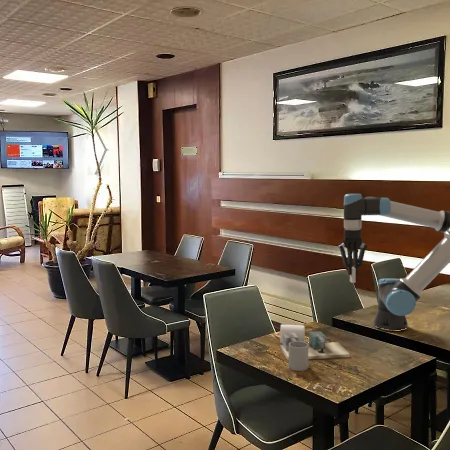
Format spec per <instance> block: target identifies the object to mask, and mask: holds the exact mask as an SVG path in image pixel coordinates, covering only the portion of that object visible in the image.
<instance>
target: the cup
mask: <svg viewBox="0 0 450 450" xmlns="http://www.w3.org/2000/svg"><path fill="white" fill-rule="evenodd" d="M308 344H309V343H308V342H306V341H305V342H302V341H293V342H290V343H289V360H288V368H289V369H290V370H292V371H294V372H304V371H307V370H308V369H309V359H308Z"/></svg>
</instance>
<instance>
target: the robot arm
mask: <svg viewBox="0 0 450 450" xmlns="http://www.w3.org/2000/svg"><path fill="white" fill-rule="evenodd" d="M362 216H381V217H384V218H385V217H386V218H391V219H395V220H399V221H403V222H406V223H412V224H415V225H419V226H424V227H428V228H433V229H435V231H436V232H440V233H443V236H444V237H443V238H442V239H441V240H440V241H439V242H438V243H437V244H436V245H435V247H433V248H432V250H431V251H430V252H429V253H428V254H427V255H426V256H425V257H424V258H423V259H422V260H421V261H420V262H419V263H418V264H417V265H416V266H415V267H414V268H413V270H412V271H410V273H408V275H406V277H404V278H403V277H401V278H390V277H389V278H388V277H387V278H385V277H384V278H380V279H378V283H377V287H378V288H377V290H378V291H377V311H376V314H375V316H374V319H373V326H374V325H375V326H377V327H379V328H384V329H389V330H401V329H405V328H407V327H408V326H409V323H408V320H407V317H406V316H408V315H410V314H411V313H412V312H413V311H414V310H415V308H416V303H417V302H418V301H419V300H420V299H421V298H422V291H423V290H425V288H426V287H427V286H428V285H429V284H431V283H432V281H433V280H434V279H435V278H436V277H437V276H438V275H439V274H440V273H442V271H443V269H445V268H446V267H447V266H448V265H449V264H450V211H447V210H440V211H436V210H432V209H429V208H423V207H420V206H415V205H411V204H406V203H400V202H397V201H392V200H390V198H388V197H376V196H372V195H371V196H366V197H362V194H361V193H347V194H346V193H345V195H344V196H343V228H344V230H343V241H342V243H341V244H339V245H337V247H338V249H339V252H340V256H341V259H342V263H343V264H342V265H343V266H344V267H345V268H347V274H348V275H349V282H350V283H352V284H355V283H356V276H357V275H358V269H359V267H362V264H363V261H364V257H365V253H366V250H367V248H368V244H366V243H364V242H363V239H362V237H363V236H362V231H363V230H362V225H363V224H362ZM345 248H346V250H345ZM346 252H347V253H346Z"/></svg>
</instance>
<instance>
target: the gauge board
mask: <svg viewBox="0 0 450 450" xmlns="http://www.w3.org/2000/svg"><path fill="white" fill-rule="evenodd" d="M293 341H298V336H297V335H296V334H295V333H283V344H279V349H280V351H281V352H282V355H284V357H285V359H287V361H289V343H290V342H293ZM307 344H308V360H319V359H320V360H321V359H337V358H338V359H339V358H350V357H351V354H350V352H349V351H348V350H346V349H345V347H343V346H342V345H341V343H339V342H338V341H336V342H335V341H334V342H333V341H332V342H325V348H323V351H321V348H317V349H313V348H312V346H311V345H310V344H309V343H307Z"/></svg>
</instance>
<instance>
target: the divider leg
mask: <svg viewBox="0 0 450 450" xmlns="http://www.w3.org/2000/svg"><path fill="white" fill-rule="evenodd" d="M308 333H309V334H308V337H309V339H308V344H310V345H311V346H312V348H313V349H317V348H321V351H323V348H325V343H326V334H324V333H323V332H322V331H309V332H308Z"/></svg>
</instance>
